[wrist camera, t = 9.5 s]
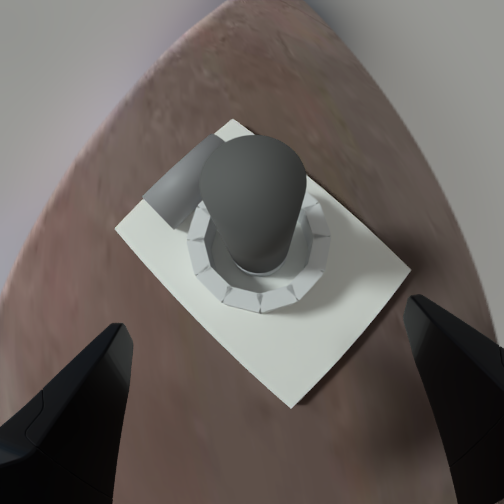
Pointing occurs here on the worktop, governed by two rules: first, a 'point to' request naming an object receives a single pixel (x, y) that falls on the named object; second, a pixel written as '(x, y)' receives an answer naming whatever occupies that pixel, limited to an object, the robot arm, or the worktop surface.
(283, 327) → the white socket base plate
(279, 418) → the worktop surface
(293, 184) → the crank handle
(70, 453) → the robot arm
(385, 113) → the worktop surface
